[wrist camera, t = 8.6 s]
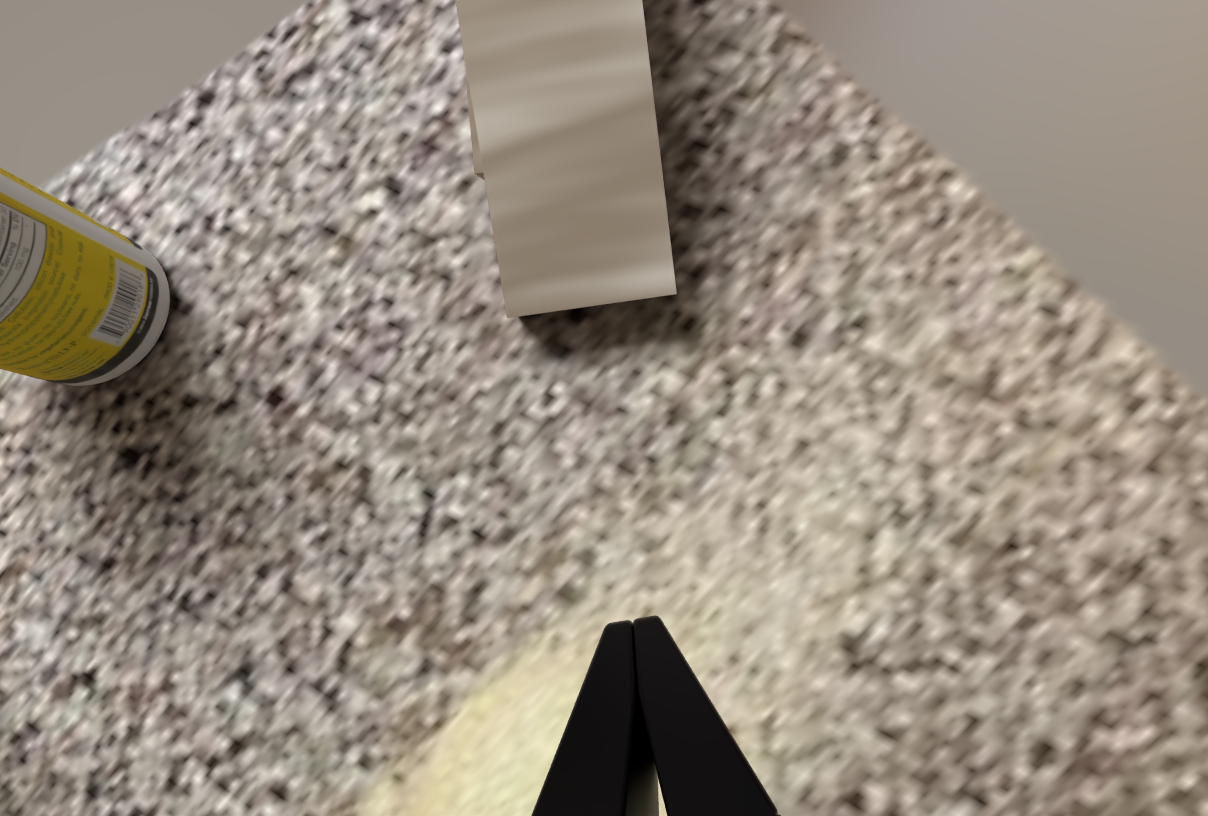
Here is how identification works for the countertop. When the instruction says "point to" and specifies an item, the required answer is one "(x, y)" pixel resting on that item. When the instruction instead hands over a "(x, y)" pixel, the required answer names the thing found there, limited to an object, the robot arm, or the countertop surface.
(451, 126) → the countertop surface
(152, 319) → the supplement bottle
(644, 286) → the domino
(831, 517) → the countertop surface
